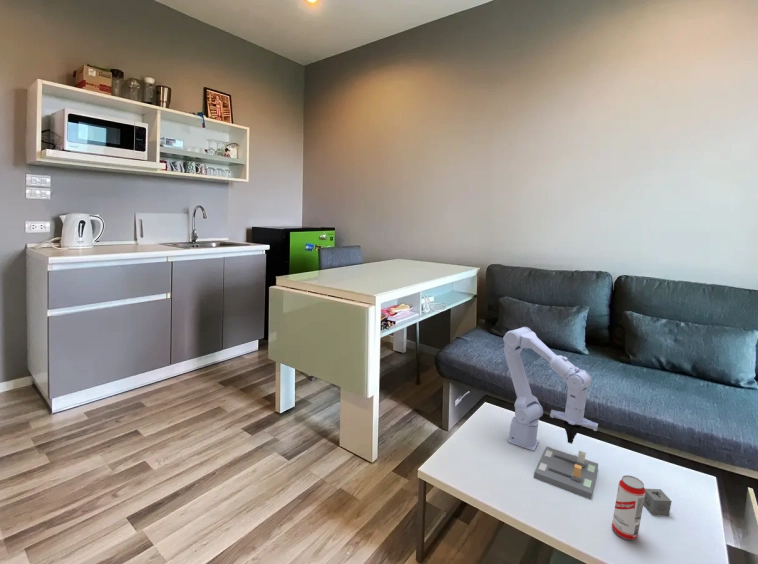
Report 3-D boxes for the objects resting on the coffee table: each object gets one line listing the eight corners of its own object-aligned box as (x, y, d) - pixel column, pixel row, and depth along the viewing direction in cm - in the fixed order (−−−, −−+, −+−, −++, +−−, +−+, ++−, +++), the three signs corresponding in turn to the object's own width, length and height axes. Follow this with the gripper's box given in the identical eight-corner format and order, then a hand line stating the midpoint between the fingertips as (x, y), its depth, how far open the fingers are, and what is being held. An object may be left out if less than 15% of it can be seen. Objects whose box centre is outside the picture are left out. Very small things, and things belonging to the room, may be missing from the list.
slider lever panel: (533, 477, 134) (534, 471, 134) (545, 451, 149) (546, 445, 149) (590, 499, 125) (591, 493, 125) (597, 468, 140) (598, 463, 139)
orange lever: (571, 478, 131) (572, 466, 130) (572, 475, 133) (573, 463, 132) (580, 482, 129) (582, 469, 129) (581, 478, 131) (583, 466, 130)
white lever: (575, 464, 138) (577, 452, 137) (576, 461, 140) (578, 449, 139) (584, 467, 137) (586, 455, 136) (585, 464, 139) (587, 452, 138)
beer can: (628, 545, 108) (637, 492, 105) (606, 528, 114) (614, 477, 111) (642, 536, 111) (651, 485, 108) (620, 520, 117) (628, 471, 114)
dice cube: (657, 503, 124) (660, 489, 123) (668, 516, 119) (671, 501, 118) (641, 502, 124) (643, 488, 123) (651, 515, 119) (654, 500, 119)
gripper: (550, 403, 138) (545, 439, 141) (597, 417, 130) (591, 455, 132) (554, 395, 144) (550, 430, 146) (600, 408, 135) (595, 445, 138)
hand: (570, 441), depth 140 cm, fingers closed
